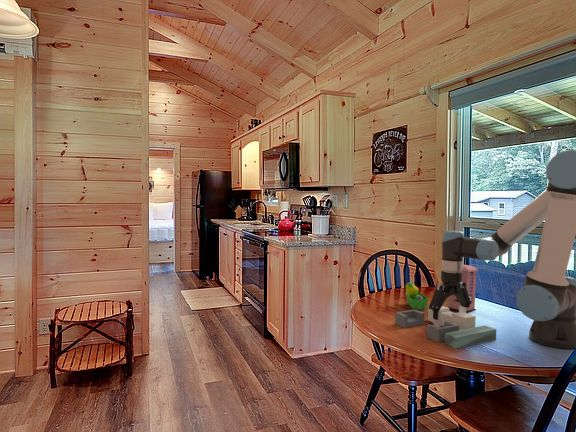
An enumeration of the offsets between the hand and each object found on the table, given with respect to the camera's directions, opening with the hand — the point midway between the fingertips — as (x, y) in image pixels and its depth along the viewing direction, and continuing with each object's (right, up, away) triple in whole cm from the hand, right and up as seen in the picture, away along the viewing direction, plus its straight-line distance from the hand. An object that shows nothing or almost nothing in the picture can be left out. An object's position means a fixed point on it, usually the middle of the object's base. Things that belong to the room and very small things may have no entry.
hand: (449, 325), depth 152 cm
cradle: (-12, 0, -6) cm, 13 cm away
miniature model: (+15, +1, +23) cm, 27 cm away
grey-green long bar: (0, -1, -17) cm, 17 cm away
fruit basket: (-5, +1, +26) cm, 27 cm away
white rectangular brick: (0, 0, 0) cm, 1 cm away
